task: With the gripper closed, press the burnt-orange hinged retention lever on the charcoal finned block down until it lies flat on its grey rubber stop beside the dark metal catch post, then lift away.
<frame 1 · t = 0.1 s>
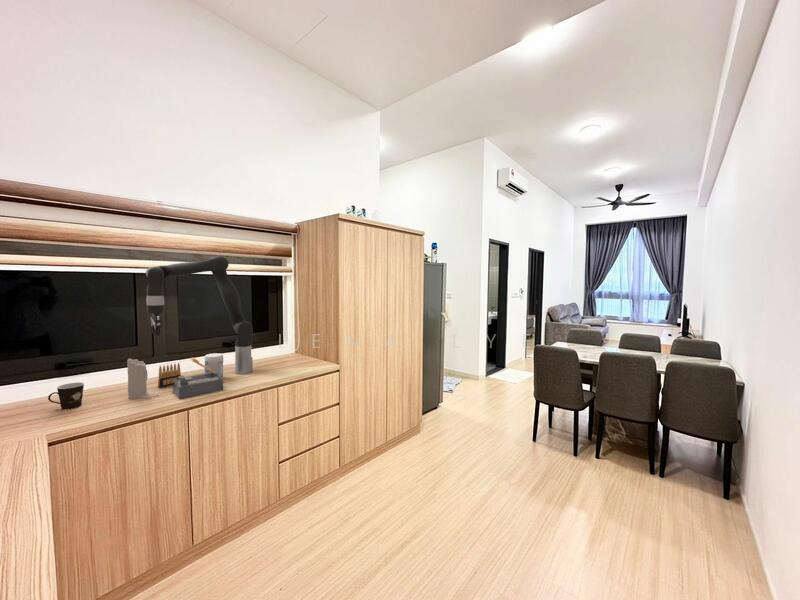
hand: (156, 334, 174), 29 cm above the worktop, tool pointing down, fingers open, 8 cm apart
retention lever: (204, 366, 174), point 13 cm above the worktop, hinge at 40.0°
coffee mug: (66, 408, 147), on the worktop
grey upright block: (146, 396, 164), on the worktop
ammunition clip: (170, 385, 181), on the worktop
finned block: (198, 391, 173), on the worktop
supplement tub: (214, 379, 193), on the worktop
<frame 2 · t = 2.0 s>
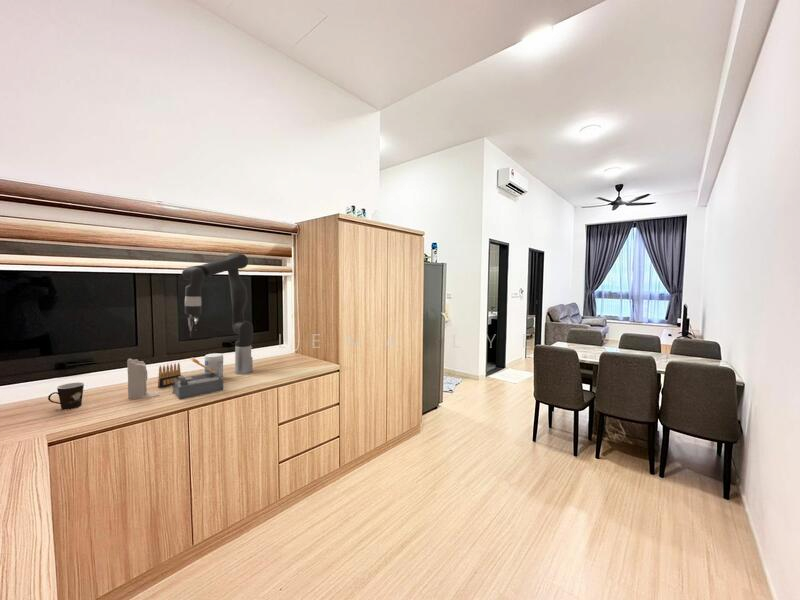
hand: (193, 337, 174), 28 cm above the worktop, tool pointing down, fingers closed
nothing on the worktop moved.
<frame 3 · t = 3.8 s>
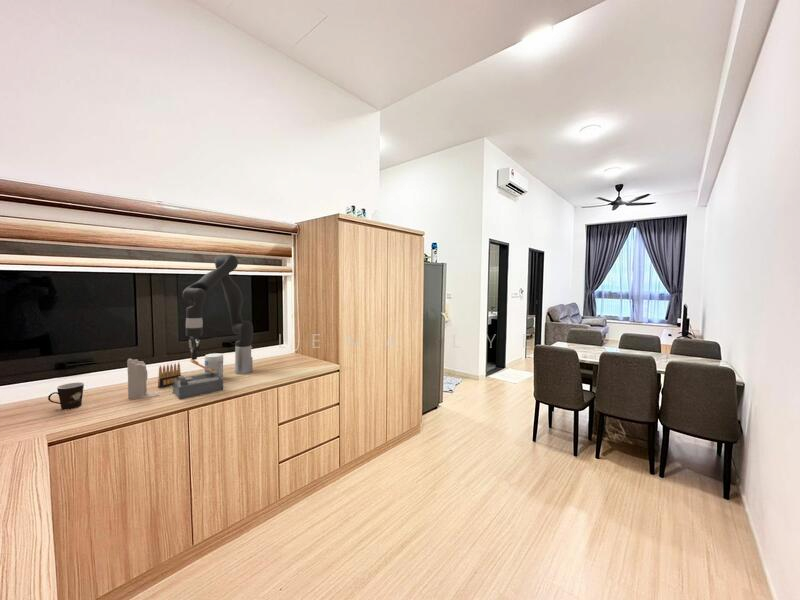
hand: (194, 359, 171), 18 cm above the worktop, tool pointing down, fingers closed
retention lever: (204, 366, 174), point 13 cm above the worktop, hinge at 36.9°, touching gripper
everything else where it was.
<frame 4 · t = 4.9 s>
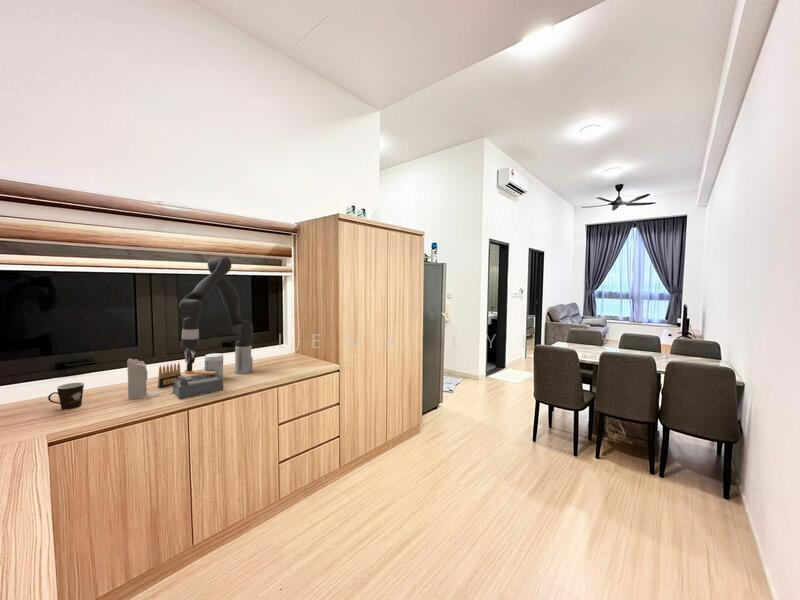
hand: (189, 370, 169), 12 cm above the worktop, tool pointing down, fingers closed
retention lever: (201, 372, 173), point 10 cm above the worktop, hinge at 10.8°, touching gripper
everything else where it was.
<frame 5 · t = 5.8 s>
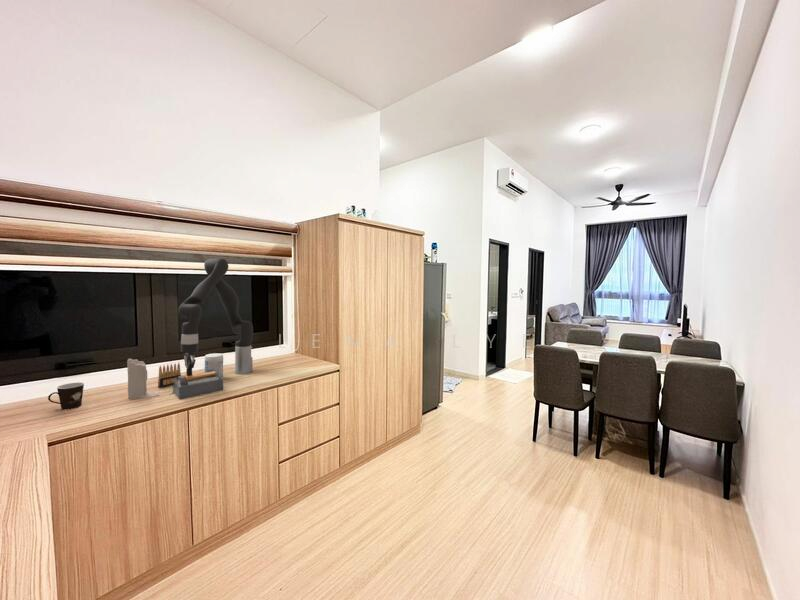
hand: (189, 375, 169), 9 cm above the worktop, tool pointing down, fingers closed
retention lever: (200, 374, 173), point 9 cm above the worktop, hinge at -0.4°, touching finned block, gripper
everything else where it was.
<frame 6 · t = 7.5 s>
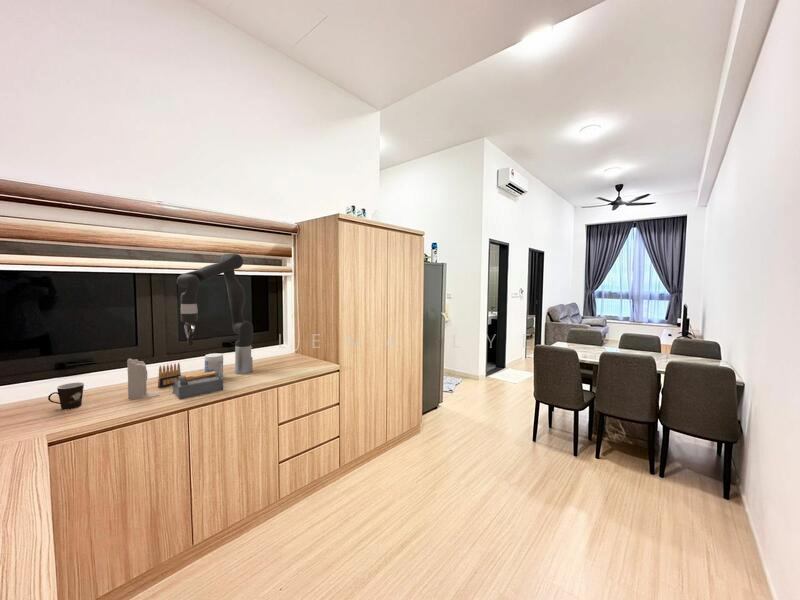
hand: (190, 344, 173), 25 cm above the worktop, tool pointing down, fingers closed
retention lever: (200, 374, 173), point 9 cm above the worktop, hinge at -0.4°, touching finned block
everything else where it was.
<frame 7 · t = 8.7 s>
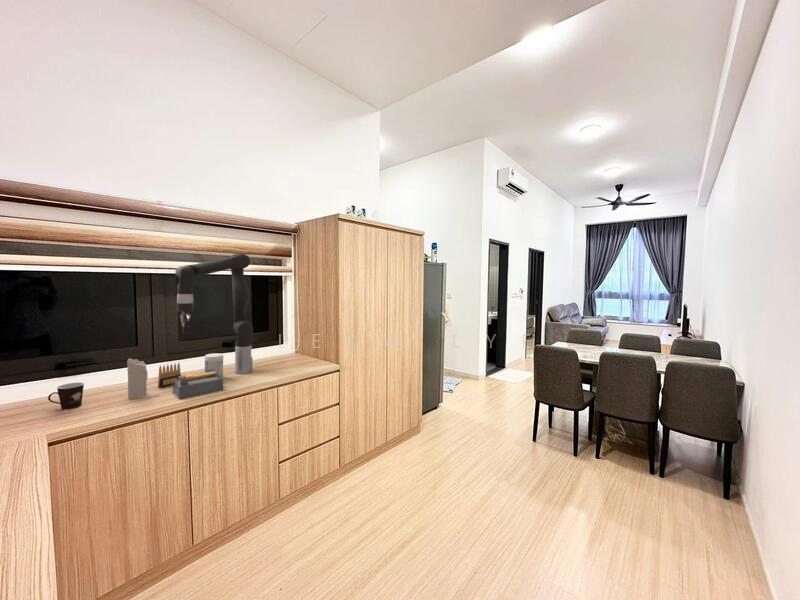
hand: (185, 333, 181), 29 cm above the worktop, tool pointing down, fingers closed
nothing on the worktop moved.
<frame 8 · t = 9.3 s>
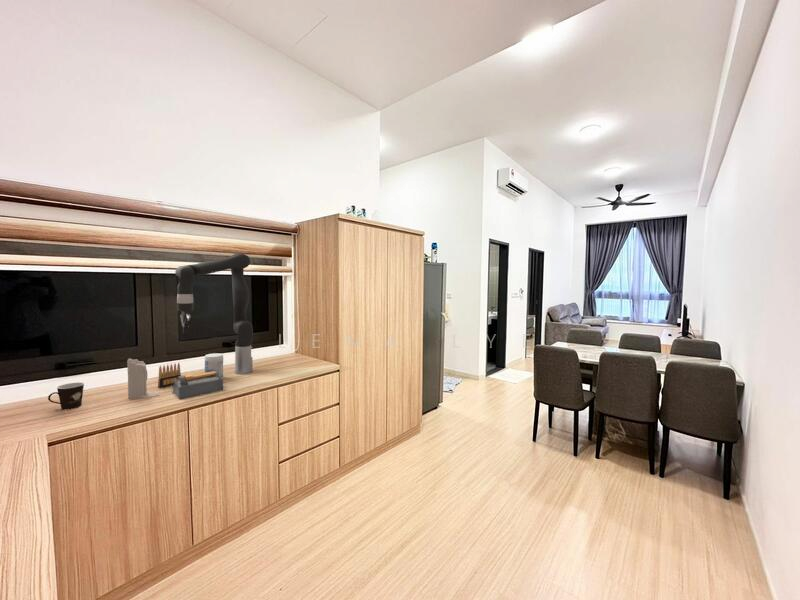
hand: (185, 333, 181), 29 cm above the worktop, tool pointing down, fingers closed
nothing on the worktop moved.
at the end: retention lever at +0° (first picture: +40°) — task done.
